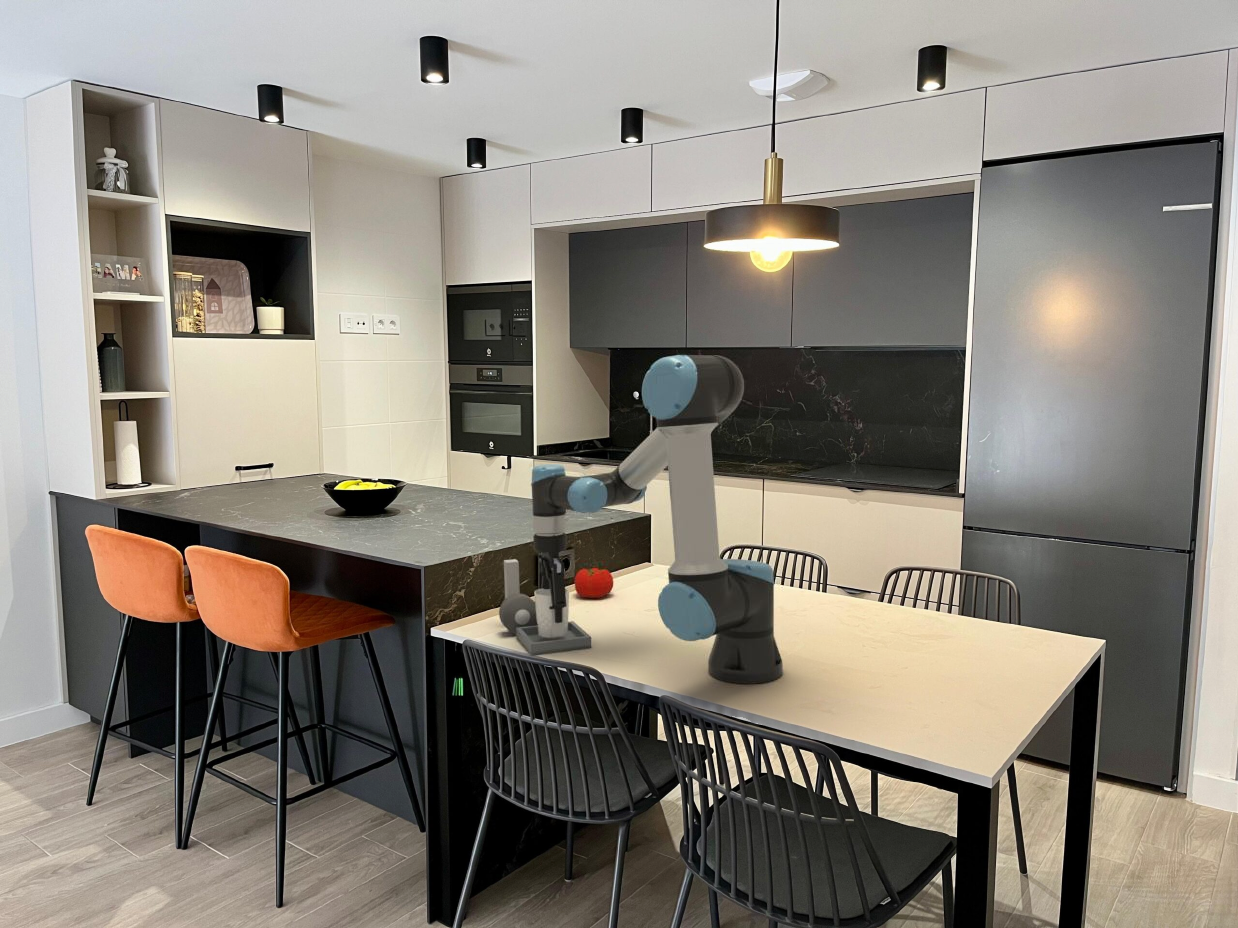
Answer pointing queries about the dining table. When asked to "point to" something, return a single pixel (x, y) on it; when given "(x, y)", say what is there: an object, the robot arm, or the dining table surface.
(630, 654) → the dining table surface
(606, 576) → the tomato
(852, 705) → the dining table surface
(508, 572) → the trolley wheel
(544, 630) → the white cup
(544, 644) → the tray
